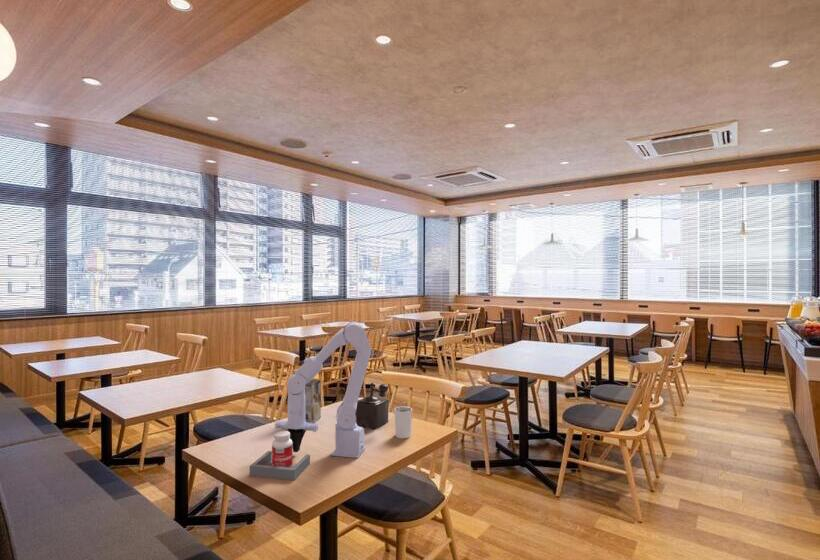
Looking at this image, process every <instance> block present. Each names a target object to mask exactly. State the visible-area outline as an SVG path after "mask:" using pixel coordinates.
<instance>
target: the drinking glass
mask: <svg viewBox="0 0 820 560" xmlns="http://www.w3.org/2000/svg"><path fill="white" fill-rule="evenodd" d="M412 418H413V408H412V407H409V406H406V405H405V406H396V407H395V408H394V427H395V428H394V430H395V431H394V433H395V434H394V435H395V437H396V438H399V439H407V438H408V439H409V438H410V437H412V420H413V419H412Z"/></svg>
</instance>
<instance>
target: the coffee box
mask: <svg viewBox="0 0 820 560" xmlns="http://www.w3.org/2000/svg"><path fill="white" fill-rule="evenodd" d="M321 381H322V380H321V379H312V380H311V381H310V382H309V383H306V385H305V422H309V423H313V424H315V423H316V422H317V421H318V420H319V419H321V417H322V415H321V413H322V409H321V408H322V407H321V406H322V405H321V402H322V401H321V400H322V399H321V398H322V397H321V396H322V395H321V394H322V391H321V390H322V388H321V386H322V385H321Z"/></svg>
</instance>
